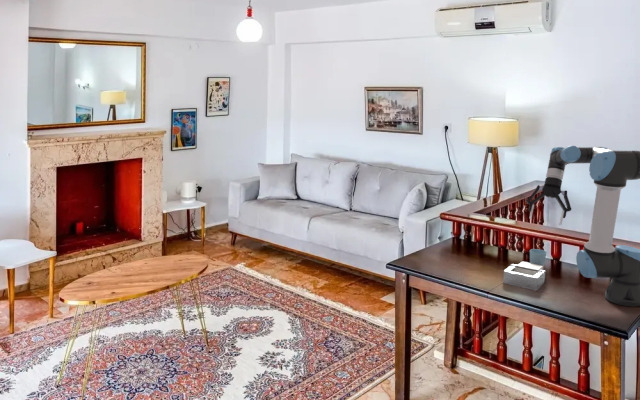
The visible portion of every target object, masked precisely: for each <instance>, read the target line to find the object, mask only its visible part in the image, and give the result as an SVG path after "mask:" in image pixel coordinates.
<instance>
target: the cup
mask: <svg viewBox="0 0 640 400" xmlns="http://www.w3.org/2000/svg"><path fill="white" fill-rule="evenodd" d="M546 257H547V251H546V250H544V249H538V248H531V249H530V250H529V263H534V264H539V265H544V266H545V261H546Z"/></svg>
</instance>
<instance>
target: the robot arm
mask: <svg viewBox="0 0 640 400" xmlns="http://www.w3.org/2000/svg"><path fill="white" fill-rule="evenodd" d="M569 164H589V166H588V167H589V168H588V170H589V171H588V172H589V177H590V178H591V180H593V184H594V185H595V186H596V192H595V199H594V206H593V213H592V218H591V219H592V220H591V226H590V230H589V231H590V232H589V238H588V239H589V240H588V241H587V242H585V243H584V245H583V249H580V250H578V252H577V253H576V256H575V257H576V259H575V260H576V265H577V268H578V271H579V273H580V274H581V275H582V276H583V277H584V278H588V279H589V278H590V279H606V278H609V279H610V278H611V281H610V283H609V284H608V285H607V287H606V290H605V292H604V298H605V299H606V300H607V301H609V302H610V303H612V304H616V305H619V306H623V307H634V308H635V307H640V248H637V247H635V246H630V245H624V244H617V245H615V247H614V245H613V239H614V235H615V234H614V233H615V227H616V220H617V214H618V209H619V203H620V198H621V191H622V189H624V188H626V186H627V181H632V180H633V181H635V180H640V150H615V149H608V147H603V146H595V147H594V146H593V147H592V146H591V147H589V146H588V147H587V146H586V147H581V146H579V147H578V146H576V145H568V146H565V147H562V146H554V147H553V148H551V151H550V154H549V161H548V165H547V170H546V171H547V172H546V175H545V180H544V184H543V186H540V185H539V184H538V185H537V186H536V187H535V190H534V191H533V193H532V194H531V195H530V196H529V197H528V198H527V200H526V203H527V204H528V205H529V206H528V212H530V213H529V219H530V220H531V219H532V217H533V213H534V208H535V203H537V202H538V201H540V200H541V199H542V198H544V197H546V198H551V199H555V200H556V201H557V203H558V204H559V206H560V207H561V209H562V210H561V212H560V218H559V223H558V224H559V226H561V225H562V224H563V219H566V217H567V213H568V212H571V211H572V207H571V203H570V200H569V197H568V191H567V190H561V189H562V183H563V178H564V175H565V170H566V169H565V168H566V166H567V165H569ZM539 191H542V193H541V194H540V195H538V196H537V197H536V194H537V193H538V192H539ZM560 194H561V196H562V197H563V199H564V202H565V203H564V202H563V200H562V199H561V197H560ZM534 197H536V198H534ZM533 198H534V199H533ZM531 200H532V201H531Z"/></svg>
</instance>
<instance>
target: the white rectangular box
mask: <svg viewBox="0 0 640 400" xmlns="http://www.w3.org/2000/svg"><path fill="white" fill-rule="evenodd" d="M511 264H512V265H517V264H514V263H511ZM514 269H515V267H514V266H511V265H509V266H508V267H507V268H505V269H504V270H503V279H502V280H503V281H502V284H505V285H510V286H512V287H513V286H514V287H517V288H522V289H527V290H531V291H537V290H538V289H540V288H541V287H542V286H543V285H544V284H545V281H546V270H544V269H543V270H541V271H542V272H538V273H536V274H535V275H534V276H531V275H526V274H521V273H517V272H514Z"/></svg>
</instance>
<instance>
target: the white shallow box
mask: <svg viewBox="0 0 640 400" xmlns="http://www.w3.org/2000/svg"><path fill="white" fill-rule="evenodd" d="M512 264H513V263H511V264H510V266H514V267H515V269H514V272H517V273H521V274H526V275H531V276H534V275H535V274H536V273H538V272H542V271H541V270H544V268H545V267H544V266H545V264H544V265H539V264H534V263H530V261H529V262H528V261H520V263H518V264H516V265H512Z"/></svg>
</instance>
